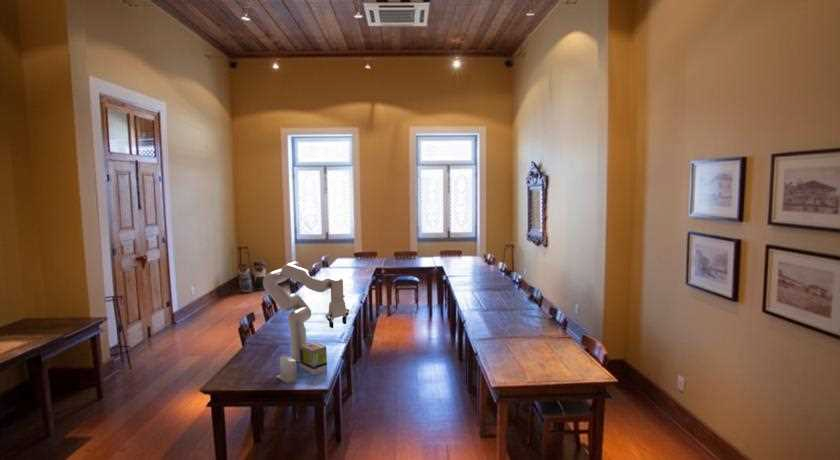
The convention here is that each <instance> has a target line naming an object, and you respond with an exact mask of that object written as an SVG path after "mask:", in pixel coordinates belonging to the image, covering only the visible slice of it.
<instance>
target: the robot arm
mask: <svg viewBox="0 0 840 460" xmlns="http://www.w3.org/2000/svg"><path fill="white" fill-rule="evenodd" d="M289 279H291V280H294V281H296V282H299V283H301V284H302V285H303V286H305V287H306V288H307V289H308V290H311V291H314V292H318V293H324V292H325V291H328V290H330V301H329V303H328V312H327V313H326V314H325V318H326V320H327V321H328V323H329V324H328V325H329V328H331V329H333V328H334V320H335V319H337V318H340V317H341V319H342V324H343V325H347V318H348V315H349V313H350V309H349V308H347V307H346V303H345V299H344V298H345V297H346V296H345V294H344V280H343V279H342V278H339V277H330V276H325V277H322V278H321V279H318V278H314V277H312V276H311V275H310V271H309V270H308V269H307V268H306V269H305V268H303V267H302V265H301V264H300V262H297V261H292V262H291V261H290V262H288V263H286V264H284V265H283V266H282V267H280V268H278V269H274V270H272V271H270V272H268V273H267V274H265V275H264V277H263V279H262V287H263V288H264V291H266V293H267V294H268V295H269V296H270V297H271V298H272V299H273V301H274V302H275V303H276V304H277V306H278V307H279V308H280V310H282V311H283V312H286V313H288V312H290V313H289V315H288V317H287V322H288V326H289V332H290V333H289V334H290V350H289V353H290V354H291V355H290V356H289V357H290V358H292V359H294V360H296V363H300V362H299V361H300V345H302V344H305V343H307V332H306V331H307V330H306V326H305V324H304V323H305V322H307V321H308V320H310V318H311V317H312V310H311V308H310V307H309V306H308V305H307V303H306V302H305V300H304V299H303V298H302V297H301V296H300V295H298V294H296V293H290V294H288V293H287V292H286V291H285V289H284V288H283V287H281V286H279V285H278V284H280V283H282V282H285V281H287V280H289Z"/></svg>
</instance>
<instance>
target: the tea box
mask: <svg viewBox="0 0 840 460" xmlns="http://www.w3.org/2000/svg"><path fill="white" fill-rule="evenodd" d="M327 357H328V354H327V346H325V345H323V344H321V343H318V342H317V341H314V340H313V341H308V342H306V343H305V344H302V345H300V362H299V363H300V364H299V366H300V369H302V368H303V369H302V370H304V371H305V370H306V372H307V371H308V373H309V372H310V374H311V375H318V374H321V373H323V372H325V371H328V358H327ZM322 371H323V372H322ZM317 373H318V374H317Z"/></svg>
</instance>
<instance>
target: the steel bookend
mask: <svg viewBox="0 0 840 460" xmlns="http://www.w3.org/2000/svg"><path fill="white" fill-rule="evenodd" d="M279 365H280V374H279V375H276V377H275V378H278V379H280V380H281V381H280V380H279V381H280V382H282V381H283V382H282V383H284V382H285V384H286V383H287V384H286V385H290V384H292V382H293V383H295V382H297V381H298V372H297V371H298V368H297V362H296V360H294V359H292V358H290V356H288V355H285V354H284V355H281V356H279ZM278 379H277V380H278ZM296 380H297V381H296ZM294 381H295V382H294Z"/></svg>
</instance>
